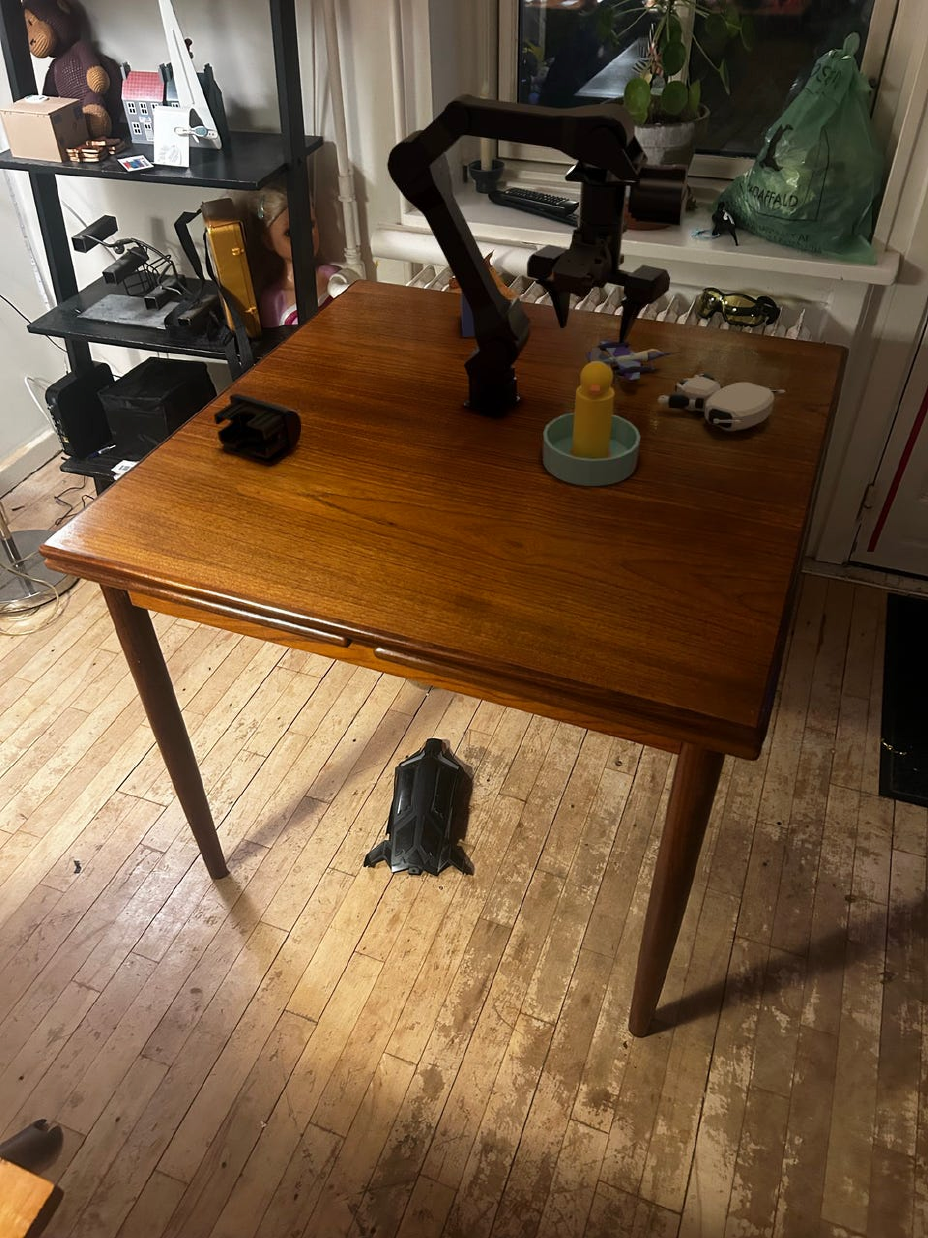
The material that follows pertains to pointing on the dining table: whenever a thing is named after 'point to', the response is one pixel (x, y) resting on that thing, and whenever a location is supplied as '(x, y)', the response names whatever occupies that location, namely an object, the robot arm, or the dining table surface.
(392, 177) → the robot arm
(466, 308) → the walkman
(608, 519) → the dining table surface
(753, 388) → the robot toy
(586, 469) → the pan
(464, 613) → the dining table surface
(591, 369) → the duck toy
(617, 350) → the toy airplane
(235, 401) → the end cap
